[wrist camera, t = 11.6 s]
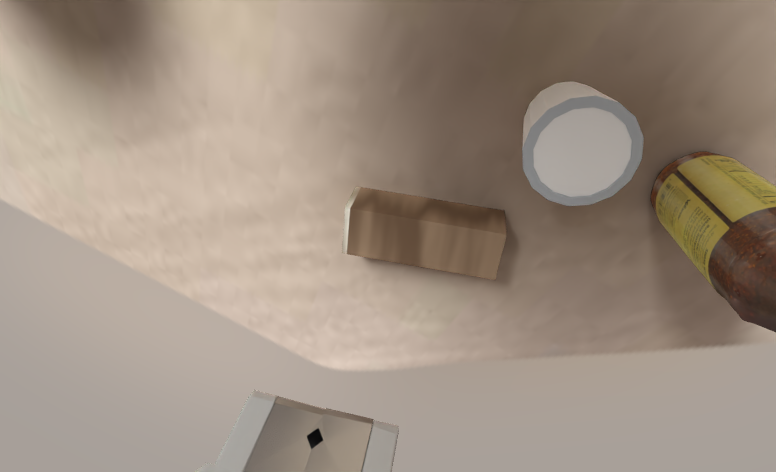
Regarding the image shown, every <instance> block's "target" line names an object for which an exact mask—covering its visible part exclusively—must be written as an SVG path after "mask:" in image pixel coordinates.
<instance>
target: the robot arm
mask: <svg viewBox="0 0 776 472" xmlns="http://www.w3.org/2000/svg"><path fill="white" fill-rule="evenodd" d="M372 424H373V425H372ZM371 429H372V430H371ZM398 432H399V430H398V426H397V425H393V424H388V423H384V422H379V421H375V420H374V421H373V419H370V418H366V417H362V416H358V415H353V414H349V413H344V412H340V411H336V410H331V409H327V408H326V409H324V408H321V407H317V406H313V405H309V404H305V403H301V402H298V401H294V400H290V399H286V398H283V397H279V396H276V395H272V394H268V393H263V392H260V391H256V390H254V391H253V392H252V394H251V395H250V396H249V397H248V399H247V401H246V403H245V405H244V407H243V409H242V411H241V413H240V415H239V417H238V419H237V421H236V423H235V425H234V427H233V429H232V431H231V433H230V435H229V437H228V439H227V441H226V443H225V445H224V447H223V449H222V451H221V453H220V455H219V457H218V459H217V461H216V463H215V465H214V464H210V463H207V464H205V465H204V466H202V467H201V468H199V469H198V470H197V471H195V472H392V466H393V460H394V455H395V449H396V443H397V437H398Z"/></svg>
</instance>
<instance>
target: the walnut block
mask: <svg viewBox="0 0 776 472" xmlns="http://www.w3.org/2000/svg"><path fill="white" fill-rule="evenodd" d="M506 236H507V231H506V221H505V212H504V211H503V210H497V209H491V208H485V207H478V206H472V205H466V204H460V203H454V202H448V201H442V200H436V199H429V198H423V197H417V196H411V195H405V194H399V193H393V192H387V191H381V190H374V189H368V188H362V187H356V188H355V190H354V192H353V193H352V195H351V197H350V199H349V201H348V203H347V205H346V206H345V213H344V228H343V242H342V253H344V254H350V255H355V256H361V257H367V258H372V259H378V260H384V261H390V262H395V263H401V264H407V265H412V266H418V267H424V268H429V269H435V270H441V271H447V272H452V273H458V274H464V275H469V276H475V277H481V278H486V279H492V280H495V279H496V275H497V271H498V267H499V263H500V259H501V256H502V252H503V248H504V244H505V240H506Z"/></svg>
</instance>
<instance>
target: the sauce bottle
mask: <svg viewBox="0 0 776 472" xmlns="http://www.w3.org/2000/svg"><path fill="white" fill-rule="evenodd" d="M651 202H652V205H653V208H654V210H655V212H656V214H657V216H658V219H659V221H660V223H661V224H662V225H663V226H664V228H665V229H666V230H667V231H668V233H669V234H670V235H671V236H672V238H673V239H674V240H675V241H676V242H677V244H678V245H679V246H680V248H681V249H682V250H683V251H684V253H685V254H686V255H687V256H688V258H689V259H690V260H691V261H692V262H693V264H694V265H695V266H696V267H697V269H698V270H699V271H700V272H701V273H702V275H703V276H704V277H705V278H706V279H707V281H708V282H709V283H710V284H711V285H712V287H713V288H714V289H715V290H716V291H717V292H718V293H719V294H720V295H721V296H722V297H724V298H725V299H726V300H727V301H728V302H729V304H730V305H731V306H732V308H733V309H734V310H735V311H736V312H737V313H738V314H739V316H740V317H741V318H742V319H743V320H744V321H747V322H751V323H754V324H757V325H759V326H762V327H764V328H767V329H769V330H772V331H774V332H776V186H774V185H773V184H771V183H770V182H768V181H767V180H765V179H764V178H762V177H761V176H759V175H758V174H756V173H755V172H753V171H752V170H750V169H749V168H747V167H746V166H744V165H743V164H741V163H740V162H738V161H736V160H735V159H733V158H730V157H725V156H721V155H719V154H713V153H709V152H696V153H693V154H690V155H686V156H685V157H682V158H680V159H678V160H676V161H675V162H673V163H671V164H669V165H668V166H666V167H665V168H664V169H663V171H661V173H660V174H659V175H658V177H657V179H656V180H655V184H654V186H653V189H652V194H651Z"/></svg>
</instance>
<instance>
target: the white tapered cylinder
mask: <svg viewBox="0 0 776 472" xmlns="http://www.w3.org/2000/svg"><path fill="white" fill-rule="evenodd" d="M643 142H644V137H643V134H642V132H641V129H640V126H639V124H638V121H637V119H636V117H635V116H634V115H633V114H632V113H631V112H629V111H628V110H627V109H626V108H625V107H624V106H623V105H621V104H620V103H619V102H618V101H616V100H614V99H612V98H610V97H608V96H607V95H605V94H603V93H601V92H599V91H597V90H596V89H594V88H592V87H590V86H588V85H584V84H581V83H578V82H574V81H570V82H562V83H556V84H554V85H552V86H550V87H548V88H546V89H544V90H542V91H540V93H539V94H538V95H537V96H536V97H535V98H534V99H533V100H532V101H531V102H530V104H529V106H528V109H527V111H526V114H525V116H524V124H523V146H522V154H523V171H524V173H525V175H526V177H527V179H528V181H529V183H530V185H531V187H532V188H533V189H535V190H536V191H537V192H538V193H539V194H541V195H542V196H543V197H544V198H546V199H547V200H549V201H552V202H556V203H559V204H563V205H566V206H579V205H592V204H594V203H597V202H599V201H601V200H604V199H606V198H609V197H611V196H613V195H614V194H616V193H617V192H618V191H619V190H620V189H621V188H622V187H624V186H625V185H626V184H627V183H628V182H629V181H630V180H631V179H632V177H633V175H634V173H635V171H636V170H637V168H638V166H639V164H640V162H641V160H642V153H643Z"/></svg>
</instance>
